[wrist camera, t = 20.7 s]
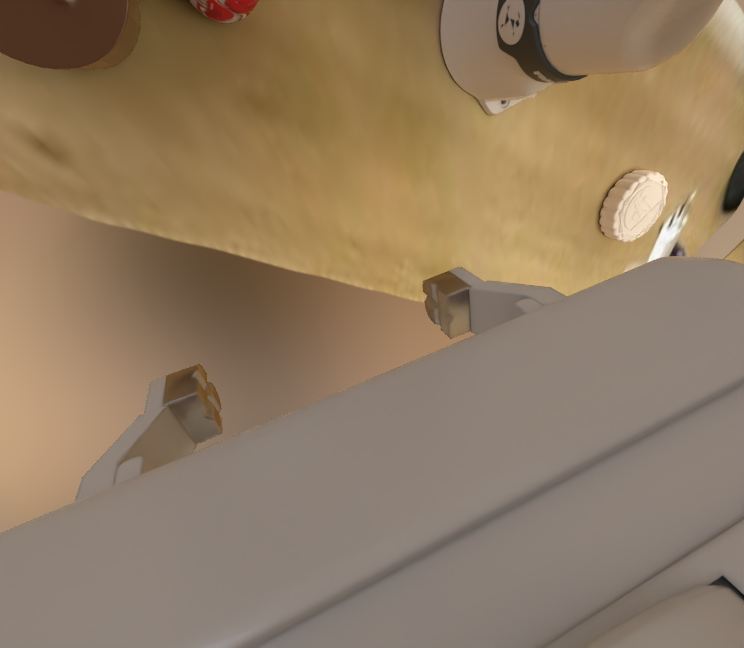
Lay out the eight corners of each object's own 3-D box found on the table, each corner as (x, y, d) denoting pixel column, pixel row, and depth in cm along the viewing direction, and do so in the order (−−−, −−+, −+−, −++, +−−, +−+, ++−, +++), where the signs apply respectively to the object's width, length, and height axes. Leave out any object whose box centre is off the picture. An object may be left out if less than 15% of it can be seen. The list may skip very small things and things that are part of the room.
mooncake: (643, 153, 64) (664, 156, 61) (657, 202, 71) (676, 207, 68) (590, 207, 65) (608, 212, 62) (608, 250, 72) (625, 256, 69)
